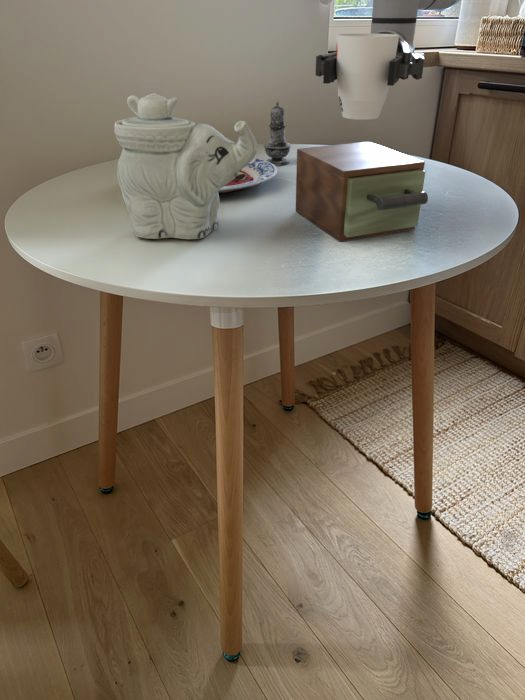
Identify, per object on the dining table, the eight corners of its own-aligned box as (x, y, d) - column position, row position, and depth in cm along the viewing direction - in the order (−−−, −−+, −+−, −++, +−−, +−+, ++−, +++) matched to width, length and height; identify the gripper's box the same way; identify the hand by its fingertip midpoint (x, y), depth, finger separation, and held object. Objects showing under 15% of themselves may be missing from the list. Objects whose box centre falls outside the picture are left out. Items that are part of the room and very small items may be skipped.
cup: (355, 109, 81) (361, 32, 76) (401, 116, 76) (411, 34, 71) (320, 116, 77) (324, 35, 71) (366, 124, 72) (374, 37, 66)
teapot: (262, 232, 80) (260, 93, 70) (179, 261, 71) (164, 106, 61) (193, 208, 90) (183, 83, 80) (114, 230, 81) (91, 93, 71)
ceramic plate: (274, 163, 115) (274, 149, 113) (281, 200, 93) (281, 183, 92) (152, 166, 114) (150, 151, 113) (130, 203, 93) (128, 186, 91)
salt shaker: (273, 157, 119) (273, 98, 113) (296, 161, 117) (297, 100, 110) (258, 163, 115) (257, 102, 109) (281, 167, 113) (281, 104, 106)
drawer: (435, 236, 76) (445, 178, 71) (363, 248, 72) (369, 188, 68) (368, 200, 90) (373, 150, 85) (305, 209, 86) (306, 158, 82)
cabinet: (415, 229, 81) (425, 161, 75) (339, 241, 77) (344, 171, 71) (363, 201, 92) (369, 141, 87) (295, 211, 88) (296, 148, 83)
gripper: (444, 85, 87) (436, 108, 69) (319, 81, 92) (281, 101, 74) (453, 31, 83) (446, 40, 65) (321, 30, 88) (282, 38, 70)
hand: (358, 72), depth 69 cm, fingers closed on cup, 8 cm apart
